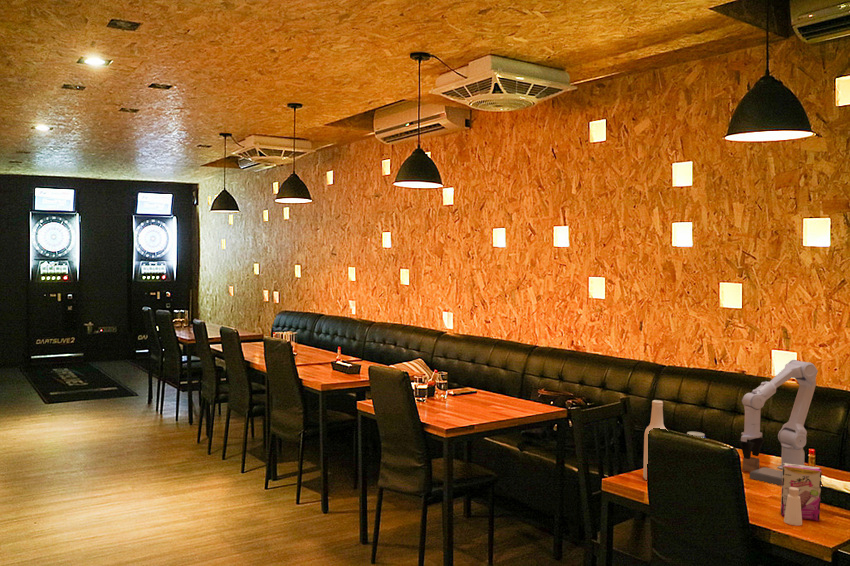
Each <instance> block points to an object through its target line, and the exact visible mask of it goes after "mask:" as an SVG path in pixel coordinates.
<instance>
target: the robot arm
mask: <svg viewBox="0 0 850 566" xmlns="http://www.w3.org/2000/svg"><path fill="white" fill-rule="evenodd" d="M818 372H819V371H818V369H817V367H816V365H815V364H814V363H812V362H810V361H809V362H807V361H801V360H797V359H792V360H789V361H788V363H786V364H785V365H784V368H783V369H781V371H779V372H778V373H777V374H776V375H775V376H774V377H773V378H772V379H771V380H770V381H767V380H765V381H762V382H761V383H760V385H758V387H756V388H755V389H752V391H751V392H747V393H746V394H744V395H743V396H742V399H741V403H742V405H743V408H744V423H743V424H744V426H743V429H744V430H743V432H741V433H740V434H741V436H740V439H738V444H739V446H740V448H741V451H742V457H743V458H746V459H750V457H752V456H753V457H754V456H755V457H759V456H760V452H761V449H762V446H763V444H764V443H765V441H766V440H765V438H764V437H763V432H761V409H762V408H763V407H764V406H765V403H766V402H767V401H768V399H770V398H771V397H772V396H773V395H775V394H776V393H777V388H779V387H780V386H781V385H783V384H784V383H787V381H789V380H791V379H793V378H794V380H796V382H797V383H798V385H799V387H798V390H797V394H796V397H795V399H794V403H793V406H792V409H791V413H790V416H789V419H788V421H787V422H785V423H784V424H782V427H781V429H780V430H779V431H778V434H777V439H778V441H779V442H780V445H781V459H780V460H781V461H780V463H781V464H780V465H778V466H776V468H777V469H780V470H782V468H783V463H789V464H796V465H804V466H805V457H806V456H805V454H806V453H805V450H804V447H805V446H806V444H807V434H808V432H807V429H806V428H805V422H806V419H807V416H808V412H809V408H810V405H811V403H812V399H813V397H814V392H815V390H816V387H817V376H818ZM751 455H752V456H751Z"/></svg>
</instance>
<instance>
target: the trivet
mask: <svg viewBox="0 0 850 566" xmlns="http://www.w3.org/2000/svg"><path fill="white" fill-rule="evenodd" d="M750 478H751V479H750ZM749 479H750V480H754V479H755V480H754V481H758V480H759V482H762V481H764V482H763V483H766V482H768V483H767V484H771V483H773V484H772V485H775V484H777V485H776V486H779V485H781V486H780V487H782V470H781V469H780V470H779V469H774V468H771V467H766V466H765V467H759V469H757V470H754V471H752V472H749Z"/></svg>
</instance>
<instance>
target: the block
mask: <svg viewBox="0 0 850 566" xmlns="http://www.w3.org/2000/svg"><path fill="white" fill-rule="evenodd" d="M757 469H760V458H758V457H754V456H750V459H746V458H744V457H742V471H745V472H749V473H750V472H752V471H754V470H757Z"/></svg>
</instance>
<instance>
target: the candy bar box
mask: <svg viewBox="0 0 850 566" xmlns="http://www.w3.org/2000/svg"><path fill="white" fill-rule="evenodd" d="M821 469H822V468H821V467H817V466H811V465H810V466H809V465H805V464H804V465H796V464H789V463H783V468H782V469H781V471H782V486H781V493H780V495H781V496H780V497H781V498H780V515H781V516H783V517H784V516H785V509H786V502H787V496H788V495H789V488H790V487H795V488H798V489H799V494H798V496H800V501H801V514H802V520H810V521H817V522H820V514H821V493H822V492H821V491H822V470H821Z"/></svg>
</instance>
